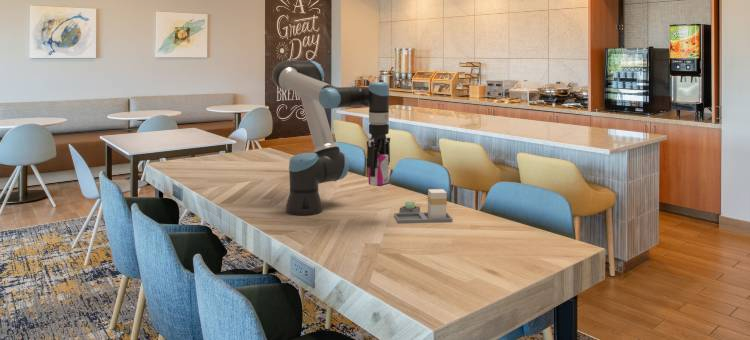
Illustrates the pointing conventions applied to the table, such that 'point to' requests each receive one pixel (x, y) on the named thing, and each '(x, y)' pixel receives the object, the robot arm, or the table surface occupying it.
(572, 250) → the table surface
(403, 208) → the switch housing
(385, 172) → the supplement box
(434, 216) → the box
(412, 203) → the button
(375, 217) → the table surface
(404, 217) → the grey divided tray
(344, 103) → the robot arm
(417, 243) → the table surface
